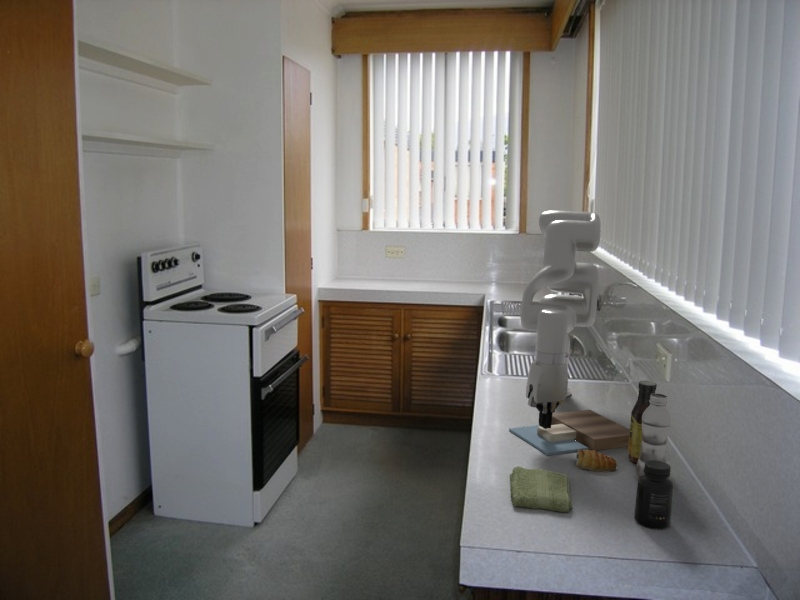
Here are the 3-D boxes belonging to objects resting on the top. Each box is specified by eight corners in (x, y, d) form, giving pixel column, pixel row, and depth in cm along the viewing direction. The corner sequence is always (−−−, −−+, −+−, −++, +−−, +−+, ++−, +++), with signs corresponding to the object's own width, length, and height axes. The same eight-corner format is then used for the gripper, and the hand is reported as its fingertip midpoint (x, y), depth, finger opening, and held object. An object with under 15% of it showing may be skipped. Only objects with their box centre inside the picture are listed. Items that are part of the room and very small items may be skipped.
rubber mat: (508, 430, 190) (509, 428, 190) (546, 426, 194) (546, 424, 194) (547, 455, 173) (547, 453, 173) (587, 449, 178) (587, 447, 178)
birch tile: (536, 434, 186) (537, 426, 186) (562, 430, 189) (562, 423, 189) (550, 442, 181) (550, 434, 180) (575, 438, 184) (576, 431, 184)
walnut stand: (547, 424, 196) (548, 414, 195) (589, 419, 201) (589, 409, 201) (593, 450, 178) (594, 439, 177) (637, 444, 183) (638, 433, 183)
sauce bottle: (633, 453, 177) (640, 376, 173) (658, 460, 173) (666, 382, 169) (622, 461, 172) (630, 381, 168) (648, 468, 168) (656, 387, 164)
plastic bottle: (629, 479, 161) (638, 395, 157) (643, 472, 165) (652, 389, 162) (656, 489, 156) (666, 402, 153) (670, 481, 161) (679, 396, 158)
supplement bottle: (676, 522, 141) (682, 465, 139) (660, 533, 136) (666, 474, 134) (643, 510, 146) (649, 455, 144) (627, 520, 141) (633, 463, 139)
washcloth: (567, 481, 160) (569, 467, 159) (573, 516, 143) (574, 501, 142) (509, 475, 162) (510, 461, 161) (507, 509, 145) (508, 494, 144)
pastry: (614, 463, 170) (616, 448, 170) (617, 475, 164) (619, 459, 163) (574, 459, 172) (576, 444, 171) (576, 470, 165) (577, 455, 165)
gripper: (565, 352, 186) (560, 419, 189) (516, 356, 180) (512, 425, 183) (583, 359, 179) (577, 428, 182) (533, 363, 174) (528, 434, 177)
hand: (544, 426), depth 183 cm, fingers closed
